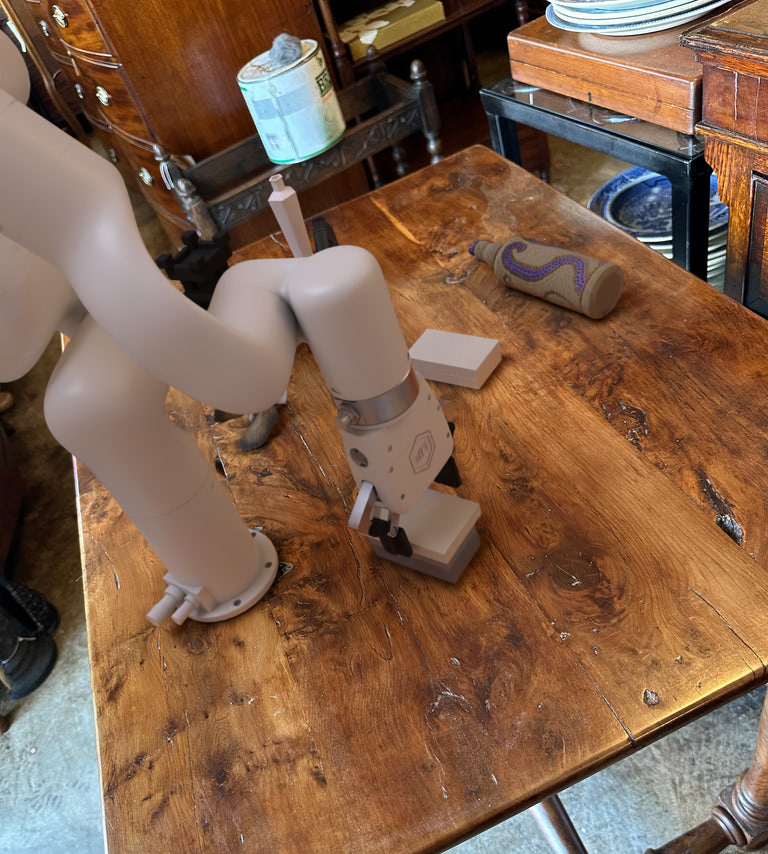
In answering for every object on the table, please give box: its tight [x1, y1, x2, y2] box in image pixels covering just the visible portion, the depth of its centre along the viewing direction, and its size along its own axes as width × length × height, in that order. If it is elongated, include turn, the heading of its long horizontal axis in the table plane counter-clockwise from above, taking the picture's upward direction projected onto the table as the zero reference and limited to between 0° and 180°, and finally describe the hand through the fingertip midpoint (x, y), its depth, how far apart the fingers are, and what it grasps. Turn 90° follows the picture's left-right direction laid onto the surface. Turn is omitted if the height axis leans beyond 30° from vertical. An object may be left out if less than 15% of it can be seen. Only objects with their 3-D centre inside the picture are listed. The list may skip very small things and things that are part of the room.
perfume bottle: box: [267, 173, 315, 258], centre depth 128 cm, size 5×4×15 cm
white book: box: [356, 487, 482, 564], centre depth 80 cm, size 7×11×2 cm, turn 56°
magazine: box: [311, 214, 340, 254], centre depth 115 cm, size 17×3×30 cm
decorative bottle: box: [467, 235, 625, 320], centre depth 109 cm, size 26×8×7 cm, turn 39°
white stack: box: [408, 328, 502, 390], centre depth 103 cm, size 6×11×3 cm, turn 56°
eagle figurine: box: [212, 389, 288, 452], centre depth 104 cm, size 8×7×9 cm
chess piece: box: [154, 229, 234, 311], centre depth 110 cm, size 8×8×20 cm
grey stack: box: [366, 524, 482, 585], centre depth 83 cm, size 6×10×4 cm, turn 56°
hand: (424, 516), depth 80 cm, fingers open, 9 cm apart
